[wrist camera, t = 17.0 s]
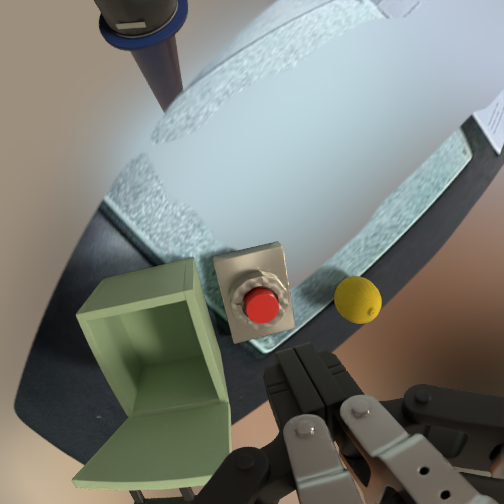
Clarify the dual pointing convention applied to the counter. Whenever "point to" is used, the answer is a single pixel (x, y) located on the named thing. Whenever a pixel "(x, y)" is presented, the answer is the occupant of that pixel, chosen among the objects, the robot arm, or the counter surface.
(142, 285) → the green lidded box
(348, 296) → the lemon
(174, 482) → the lid
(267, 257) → the switch block
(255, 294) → the button
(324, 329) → the counter surface
